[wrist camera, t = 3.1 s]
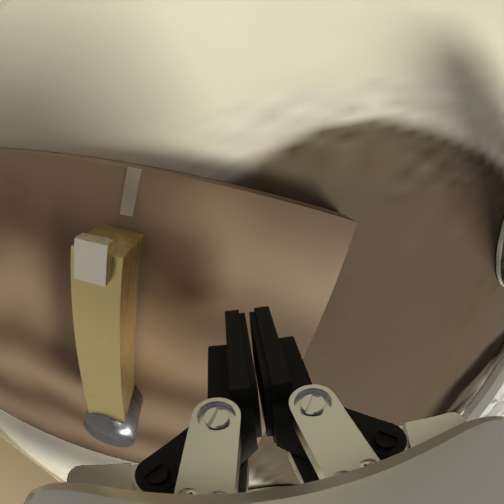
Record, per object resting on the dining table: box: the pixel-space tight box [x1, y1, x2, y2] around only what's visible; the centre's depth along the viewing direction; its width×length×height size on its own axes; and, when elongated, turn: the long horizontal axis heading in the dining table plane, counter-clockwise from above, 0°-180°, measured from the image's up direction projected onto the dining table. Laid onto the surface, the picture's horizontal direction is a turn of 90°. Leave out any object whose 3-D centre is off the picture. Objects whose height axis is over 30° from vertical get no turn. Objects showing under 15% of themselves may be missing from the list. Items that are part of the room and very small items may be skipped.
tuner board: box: [0, 148, 357, 464], centre depth 14 cm, size 24×26×2 cm
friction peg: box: [71, 224, 144, 447], centre depth 11 cm, size 12×3×4 cm, turn 165°
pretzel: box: [462, 356, 504, 421], centre depth 23 cm, size 28×24×6 cm
